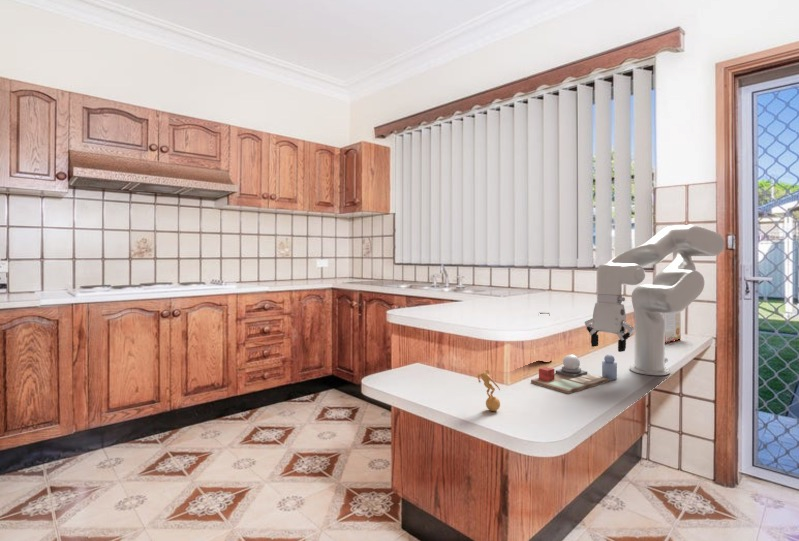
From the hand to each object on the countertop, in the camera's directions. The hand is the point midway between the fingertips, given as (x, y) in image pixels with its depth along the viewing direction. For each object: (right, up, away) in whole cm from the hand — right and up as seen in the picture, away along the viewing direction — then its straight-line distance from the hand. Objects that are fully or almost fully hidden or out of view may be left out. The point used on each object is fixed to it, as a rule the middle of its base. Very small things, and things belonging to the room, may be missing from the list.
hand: (607, 348), depth 149 cm
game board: (-14, -11, -3) cm, 18 cm away
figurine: (-47, -13, -29) cm, 56 cm away
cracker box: (+56, -7, +58) cm, 81 cm away
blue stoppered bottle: (+1, -10, +1) cm, 10 cm away
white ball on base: (-11, -8, +3) cm, 14 cm away
